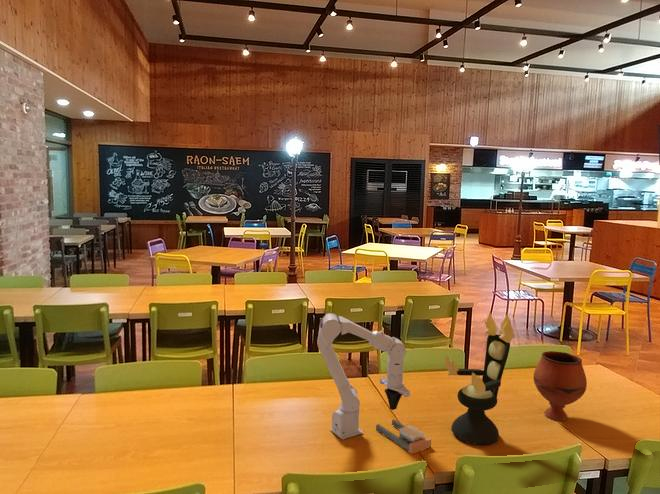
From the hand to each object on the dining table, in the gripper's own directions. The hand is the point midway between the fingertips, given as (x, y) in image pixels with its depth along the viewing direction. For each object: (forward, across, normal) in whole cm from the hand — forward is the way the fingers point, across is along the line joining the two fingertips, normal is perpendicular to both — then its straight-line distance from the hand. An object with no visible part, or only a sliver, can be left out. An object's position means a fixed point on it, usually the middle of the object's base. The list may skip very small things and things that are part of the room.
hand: (393, 408), depth 187 cm
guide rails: (+9, -5, 0) cm, 10 cm away
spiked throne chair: (+9, -17, -27) cm, 33 cm away
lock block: (+9, -10, 0) cm, 14 cm away
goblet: (+9, -23, -66) cm, 71 cm away
